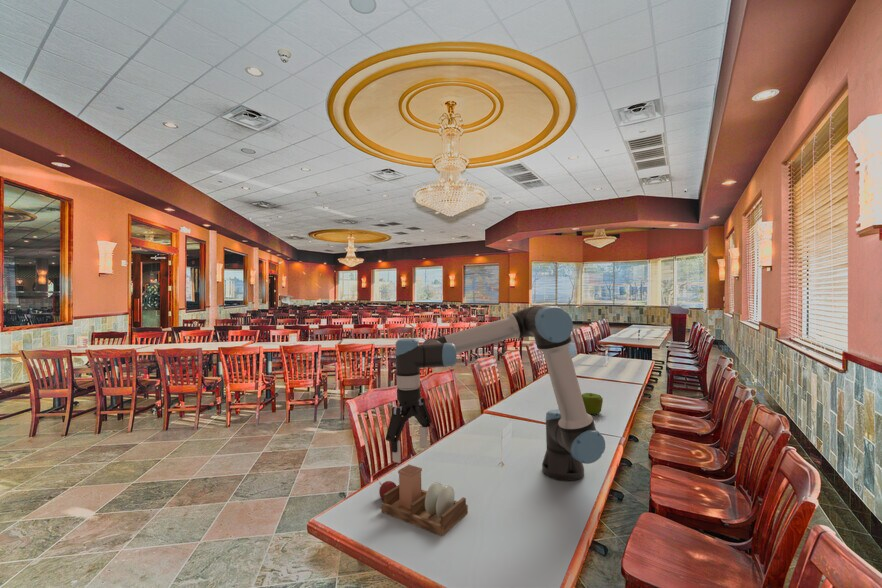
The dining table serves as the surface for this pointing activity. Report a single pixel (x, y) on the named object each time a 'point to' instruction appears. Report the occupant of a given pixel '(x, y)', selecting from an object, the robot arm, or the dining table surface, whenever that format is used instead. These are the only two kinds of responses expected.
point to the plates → (439, 499)
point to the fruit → (386, 488)
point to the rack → (423, 512)
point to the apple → (592, 403)
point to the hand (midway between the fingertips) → (410, 454)
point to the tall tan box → (409, 485)
